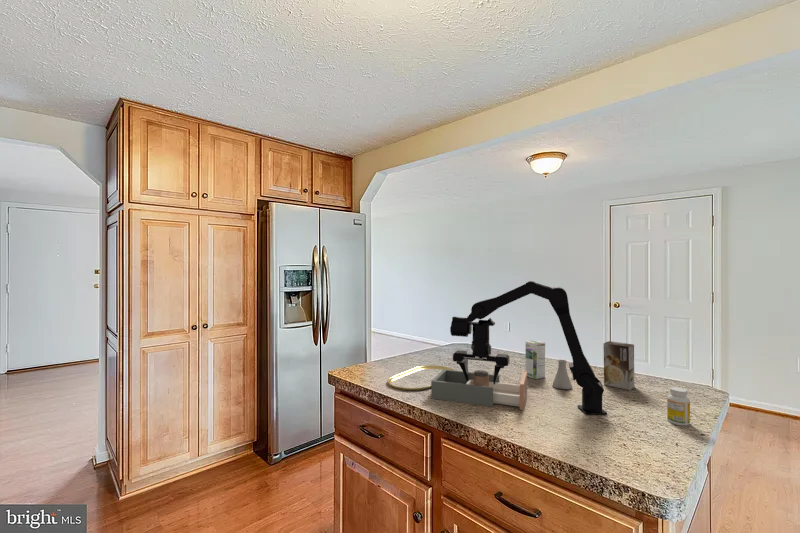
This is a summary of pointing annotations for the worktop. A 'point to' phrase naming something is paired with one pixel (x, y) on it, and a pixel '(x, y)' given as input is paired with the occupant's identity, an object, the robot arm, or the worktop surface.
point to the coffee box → (619, 365)
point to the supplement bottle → (678, 407)
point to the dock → (461, 388)
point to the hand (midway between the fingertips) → (480, 382)
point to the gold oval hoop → (413, 372)
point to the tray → (509, 392)
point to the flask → (562, 377)
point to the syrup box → (535, 359)
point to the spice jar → (481, 378)
